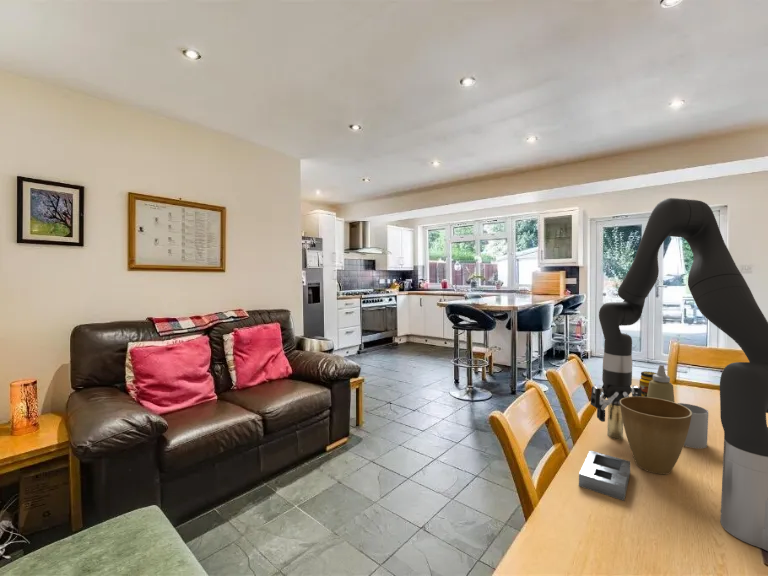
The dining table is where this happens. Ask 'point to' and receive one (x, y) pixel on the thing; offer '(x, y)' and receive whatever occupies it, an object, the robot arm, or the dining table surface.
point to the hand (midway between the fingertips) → (615, 420)
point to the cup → (697, 427)
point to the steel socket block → (605, 474)
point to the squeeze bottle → (661, 386)
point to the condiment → (645, 382)
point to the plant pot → (655, 431)
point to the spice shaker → (615, 421)
